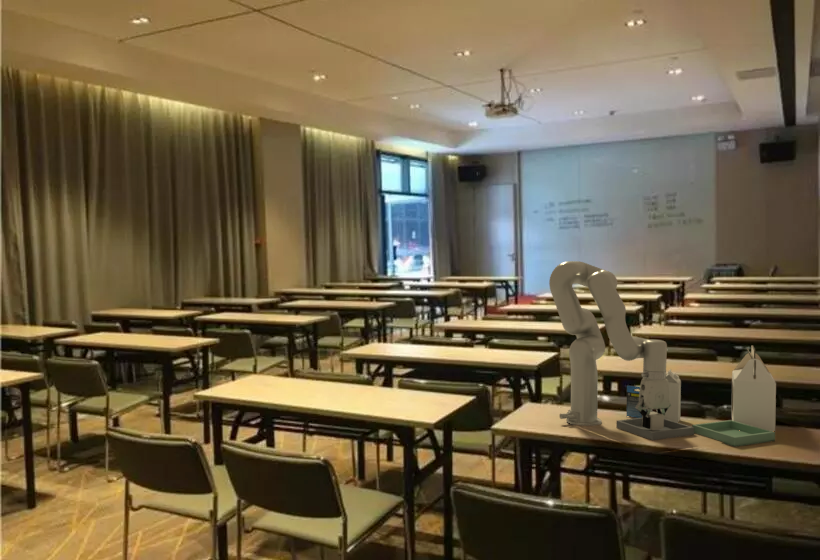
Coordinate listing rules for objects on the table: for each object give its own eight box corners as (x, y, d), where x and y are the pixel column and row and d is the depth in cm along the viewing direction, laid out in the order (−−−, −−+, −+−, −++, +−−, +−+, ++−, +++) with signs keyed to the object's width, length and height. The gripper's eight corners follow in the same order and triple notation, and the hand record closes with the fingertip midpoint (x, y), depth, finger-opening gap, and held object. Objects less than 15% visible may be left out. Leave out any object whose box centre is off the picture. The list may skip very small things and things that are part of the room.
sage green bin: (734, 446, 217) (734, 437, 217) (691, 433, 234) (691, 424, 234) (774, 441, 224) (775, 432, 224) (730, 428, 241) (730, 420, 240)
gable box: (731, 415, 261) (732, 343, 260) (770, 418, 255) (771, 345, 254) (733, 428, 240) (734, 350, 239) (775, 432, 235) (776, 352, 234)
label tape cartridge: (652, 418, 255) (653, 386, 255) (649, 420, 252) (649, 387, 252) (629, 415, 261) (630, 383, 260) (626, 417, 258) (626, 385, 257)
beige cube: (652, 430, 232) (652, 415, 232) (641, 426, 237) (642, 412, 237) (663, 429, 234) (663, 414, 234) (653, 425, 239) (653, 411, 238)
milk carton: (657, 421, 250) (658, 370, 250) (660, 417, 257) (661, 368, 256) (678, 424, 247) (678, 372, 246) (680, 419, 253) (681, 369, 253)
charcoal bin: (652, 441, 223) (652, 432, 223) (616, 428, 240) (616, 420, 240) (694, 436, 230) (694, 427, 230) (656, 424, 247) (656, 415, 247)
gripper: (642, 378, 228) (640, 432, 229) (681, 376, 234) (679, 427, 235) (627, 374, 235) (625, 426, 236) (665, 372, 241) (663, 422, 242)
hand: (652, 426), depth 235 cm, fingers closed on beige cube, 5 cm apart
